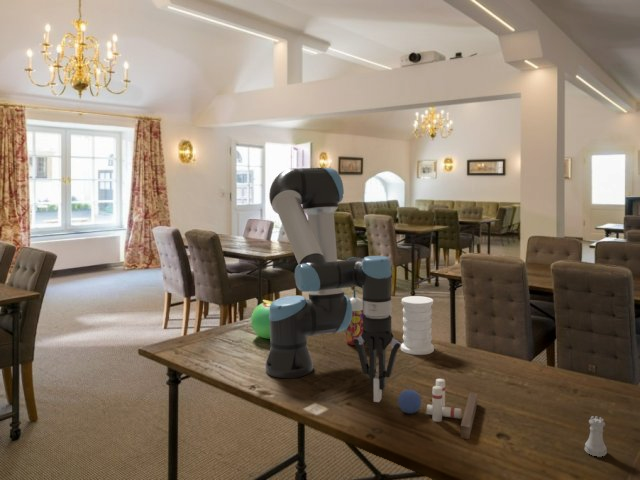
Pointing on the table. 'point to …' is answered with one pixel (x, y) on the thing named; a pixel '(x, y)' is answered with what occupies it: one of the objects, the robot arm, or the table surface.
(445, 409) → the front pin
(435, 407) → the pin
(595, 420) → the rook chess piece
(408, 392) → the ball
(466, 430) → the back wall
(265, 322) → the toy bird
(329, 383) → the table surface
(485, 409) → the table surface
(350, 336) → the smoothie
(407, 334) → the decorative container
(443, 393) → the pin
